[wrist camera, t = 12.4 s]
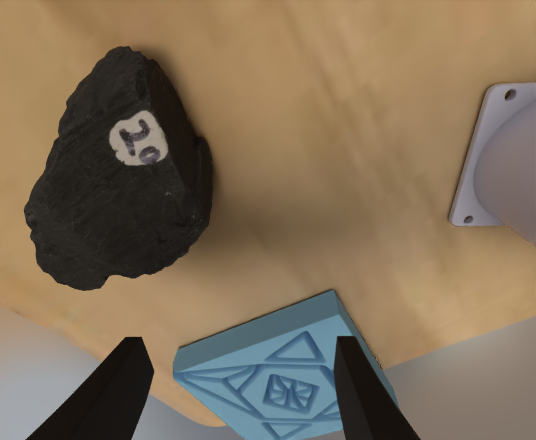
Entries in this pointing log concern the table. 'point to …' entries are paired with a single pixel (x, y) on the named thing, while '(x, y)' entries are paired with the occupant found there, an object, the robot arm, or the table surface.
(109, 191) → the rock
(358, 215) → the table surface
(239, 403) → the decorative tile
